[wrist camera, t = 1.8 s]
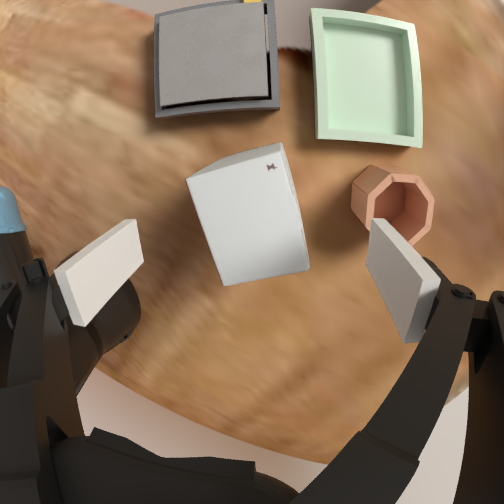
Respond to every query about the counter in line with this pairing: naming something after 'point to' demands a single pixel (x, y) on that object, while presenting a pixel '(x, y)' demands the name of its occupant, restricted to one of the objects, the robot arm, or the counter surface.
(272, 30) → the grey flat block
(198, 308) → the counter surface
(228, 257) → the small box
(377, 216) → the cup
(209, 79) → the grey flat square panel
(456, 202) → the counter surface
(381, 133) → the mint green tray
